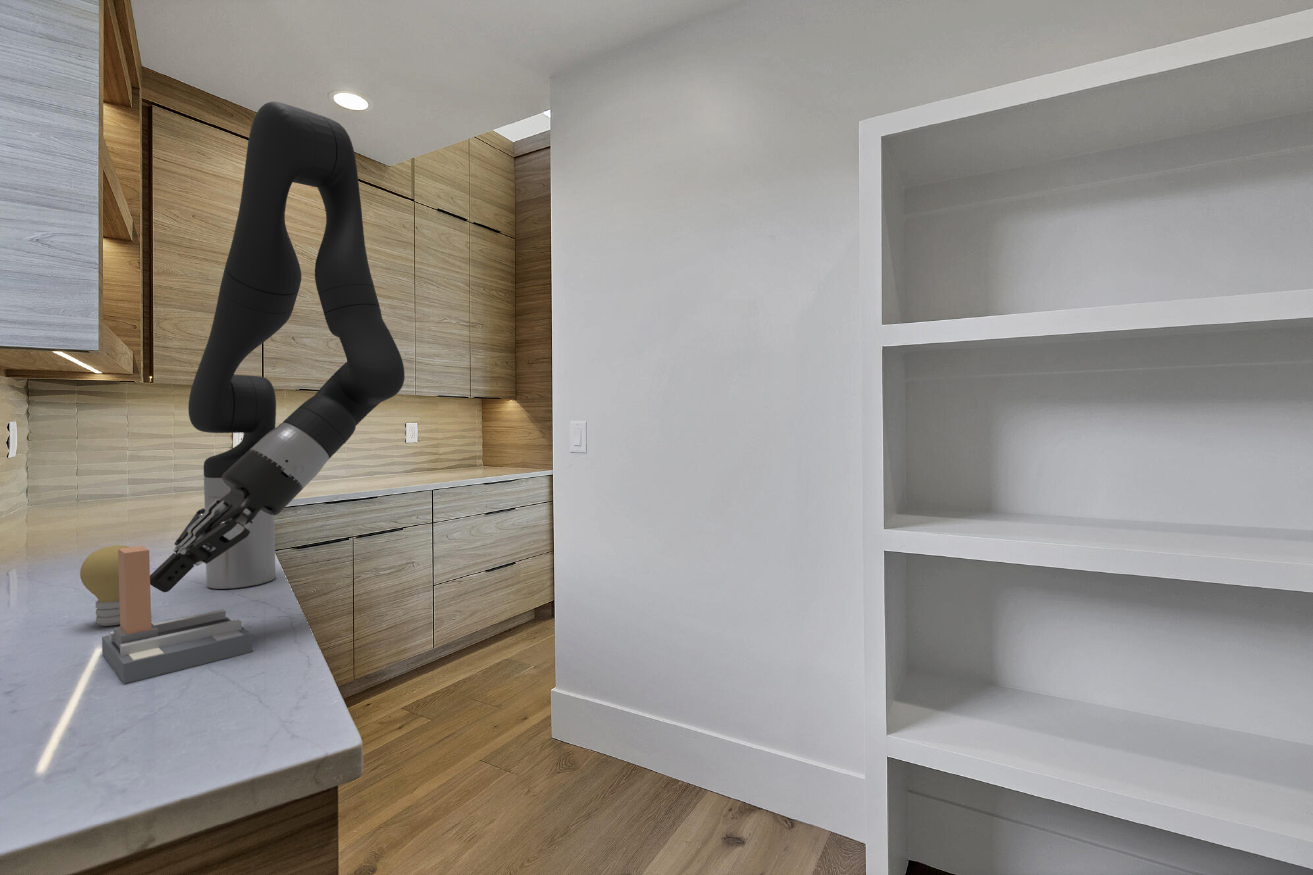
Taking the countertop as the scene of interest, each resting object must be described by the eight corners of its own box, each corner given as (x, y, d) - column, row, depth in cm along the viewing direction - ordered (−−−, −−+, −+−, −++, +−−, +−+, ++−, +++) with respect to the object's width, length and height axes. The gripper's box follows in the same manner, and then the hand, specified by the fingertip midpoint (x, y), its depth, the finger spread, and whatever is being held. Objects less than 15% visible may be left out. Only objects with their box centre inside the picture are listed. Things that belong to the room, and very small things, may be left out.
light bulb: (88, 635, 74) (85, 553, 74) (76, 625, 78) (74, 547, 78) (154, 621, 79) (152, 544, 79) (140, 612, 83) (138, 539, 83)
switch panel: (102, 654, 68) (101, 627, 68) (220, 628, 77) (219, 604, 76) (123, 683, 60) (123, 653, 60) (252, 651, 69) (251, 625, 69)
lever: (114, 641, 66) (111, 549, 66) (149, 634, 68) (147, 544, 68) (121, 650, 63) (118, 554, 63) (158, 642, 66) (155, 549, 65)
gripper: (235, 445, 78) (111, 558, 69) (272, 449, 69) (135, 578, 61) (283, 484, 82) (171, 594, 73) (323, 491, 74) (202, 618, 65)
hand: (155, 587), depth 67 cm, fingers closed
